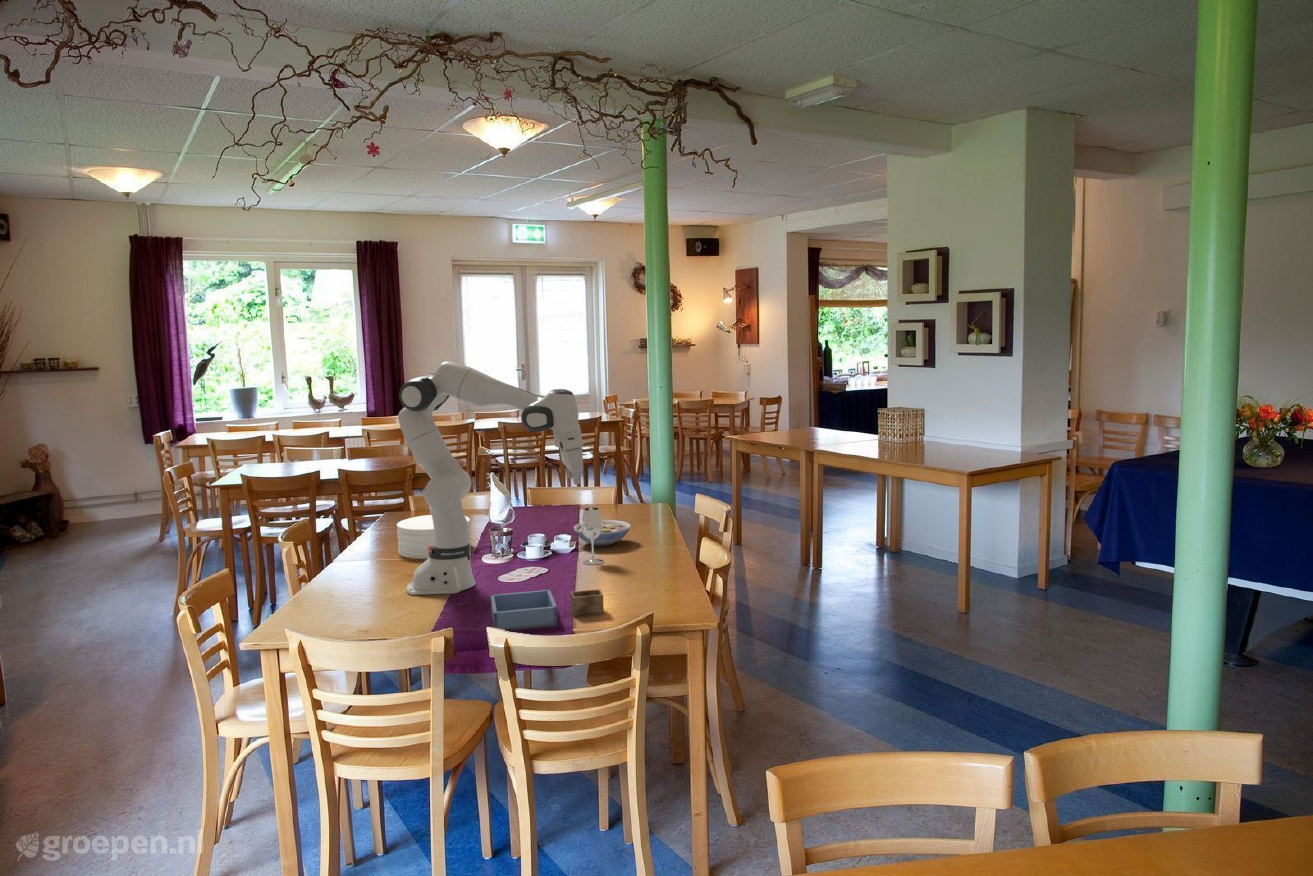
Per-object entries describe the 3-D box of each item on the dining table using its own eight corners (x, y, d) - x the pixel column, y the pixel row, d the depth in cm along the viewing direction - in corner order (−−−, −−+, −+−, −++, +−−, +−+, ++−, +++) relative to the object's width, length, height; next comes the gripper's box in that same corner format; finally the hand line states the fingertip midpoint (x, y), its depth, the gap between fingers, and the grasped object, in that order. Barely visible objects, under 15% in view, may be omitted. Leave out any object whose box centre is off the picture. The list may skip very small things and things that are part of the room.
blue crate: (494, 632, 247) (493, 613, 246) (491, 612, 265) (490, 595, 264) (557, 625, 251) (556, 607, 250) (550, 607, 269) (549, 589, 268)
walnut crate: (573, 617, 258) (573, 597, 257) (571, 611, 264) (570, 592, 263) (603, 614, 260) (602, 594, 259) (600, 608, 266) (599, 589, 265)
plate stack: (480, 541, 358) (478, 514, 357) (458, 559, 330) (456, 529, 329) (414, 541, 361) (412, 514, 359) (387, 559, 333) (385, 529, 332)
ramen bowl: (629, 551, 334) (629, 530, 333) (570, 552, 334) (569, 532, 333) (632, 536, 359) (632, 516, 358) (577, 537, 359) (576, 518, 358)
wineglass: (604, 559, 324) (602, 506, 321) (603, 564, 316) (601, 510, 314) (583, 559, 323) (581, 507, 321) (582, 565, 316) (580, 511, 313)
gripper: (553, 435, 287) (559, 476, 290) (564, 446, 268) (570, 489, 271) (571, 432, 289) (577, 472, 291) (583, 442, 269) (590, 485, 272)
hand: (574, 480), depth 281 cm, fingers open, 8 cm apart
